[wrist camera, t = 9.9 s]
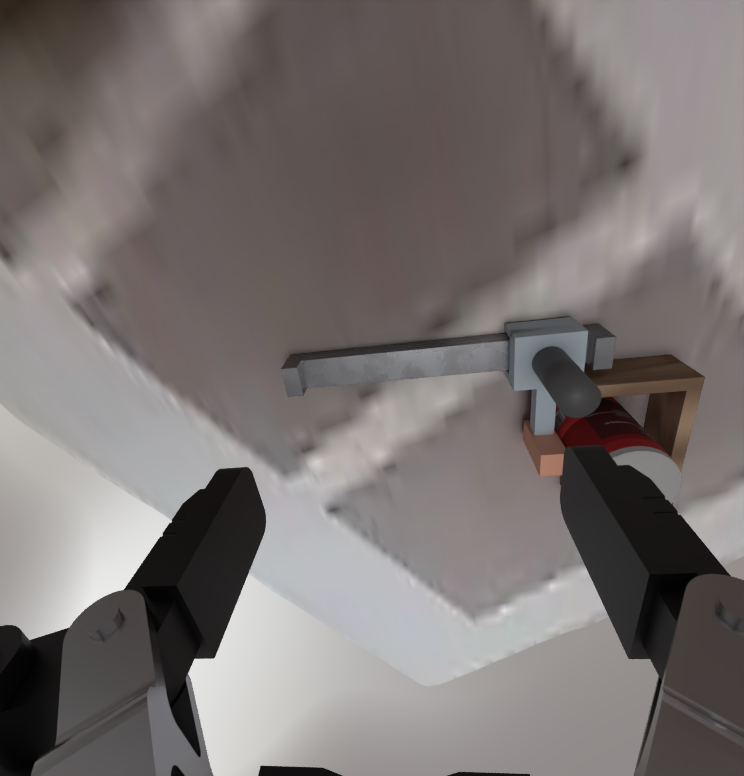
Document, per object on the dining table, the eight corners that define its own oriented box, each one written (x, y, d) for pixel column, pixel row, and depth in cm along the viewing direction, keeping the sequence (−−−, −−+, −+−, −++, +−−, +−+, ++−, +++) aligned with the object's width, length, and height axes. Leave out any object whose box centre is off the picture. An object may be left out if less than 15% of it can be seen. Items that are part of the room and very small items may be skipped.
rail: (290, 354, 42) (280, 369, 39) (598, 323, 38) (616, 336, 35) (296, 380, 43) (287, 396, 40) (595, 353, 40) (611, 368, 36)
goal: (570, 363, 40) (591, 386, 36) (671, 354, 39) (704, 376, 35) (560, 483, 47) (576, 515, 43) (645, 478, 46) (670, 510, 42)
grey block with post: (505, 323, 39) (538, 371, 29) (571, 316, 38) (628, 363, 28) (504, 436, 44) (531, 508, 35) (561, 432, 44) (606, 504, 34)
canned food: (556, 460, 46) (597, 536, 36) (533, 404, 43) (570, 471, 33) (627, 435, 44) (692, 509, 34) (608, 375, 41) (672, 437, 31)
